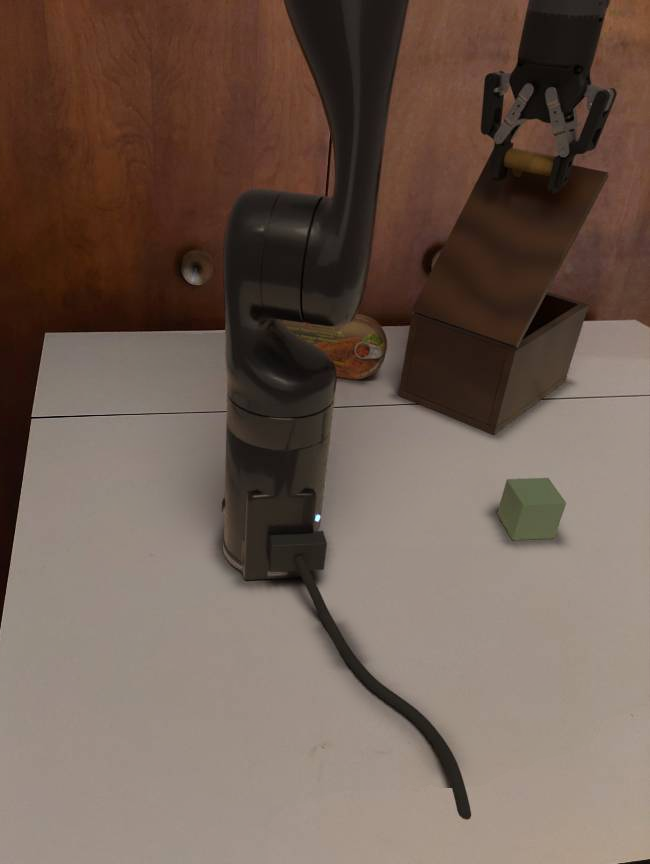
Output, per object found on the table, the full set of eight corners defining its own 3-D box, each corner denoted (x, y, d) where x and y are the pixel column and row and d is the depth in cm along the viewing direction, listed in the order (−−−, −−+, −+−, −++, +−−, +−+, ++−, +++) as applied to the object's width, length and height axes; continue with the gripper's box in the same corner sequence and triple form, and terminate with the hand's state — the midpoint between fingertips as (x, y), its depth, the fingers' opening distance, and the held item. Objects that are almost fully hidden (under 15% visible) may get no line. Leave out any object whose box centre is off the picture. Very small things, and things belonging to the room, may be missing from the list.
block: (554, 538, 82) (566, 503, 79) (512, 540, 81) (523, 504, 78) (537, 512, 85) (548, 477, 82) (496, 514, 85) (506, 478, 82)
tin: (272, 367, 110) (275, 308, 105) (278, 357, 113) (281, 299, 107) (380, 384, 107) (389, 325, 102) (384, 374, 109) (393, 315, 104)
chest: (474, 349, 117) (491, 274, 110) (565, 381, 110) (589, 304, 103) (397, 395, 105) (411, 315, 98) (493, 435, 98) (515, 351, 91)
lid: (495, 152, 96) (484, 126, 91) (608, 175, 89) (603, 149, 84) (413, 312, 98) (398, 295, 94) (517, 348, 91) (506, 332, 86)
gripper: (483, 2, 81) (452, 178, 91) (622, 16, 73) (571, 206, 84) (518, -2, 85) (485, 166, 96) (653, 11, 78) (601, 192, 88)
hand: (525, 184), depth 90 cm, fingers closed on lid, 6 cm apart
